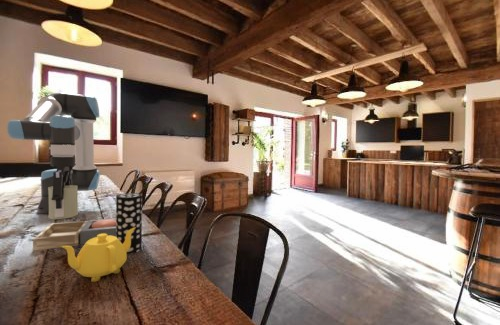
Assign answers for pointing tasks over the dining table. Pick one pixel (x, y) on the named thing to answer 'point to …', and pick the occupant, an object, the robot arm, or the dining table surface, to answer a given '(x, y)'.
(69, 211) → the can
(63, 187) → the robot arm
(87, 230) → the grey square tray
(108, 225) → the pad
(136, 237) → the spotted tube
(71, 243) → the wooden tray
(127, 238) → the teapot
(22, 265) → the dining table surface
